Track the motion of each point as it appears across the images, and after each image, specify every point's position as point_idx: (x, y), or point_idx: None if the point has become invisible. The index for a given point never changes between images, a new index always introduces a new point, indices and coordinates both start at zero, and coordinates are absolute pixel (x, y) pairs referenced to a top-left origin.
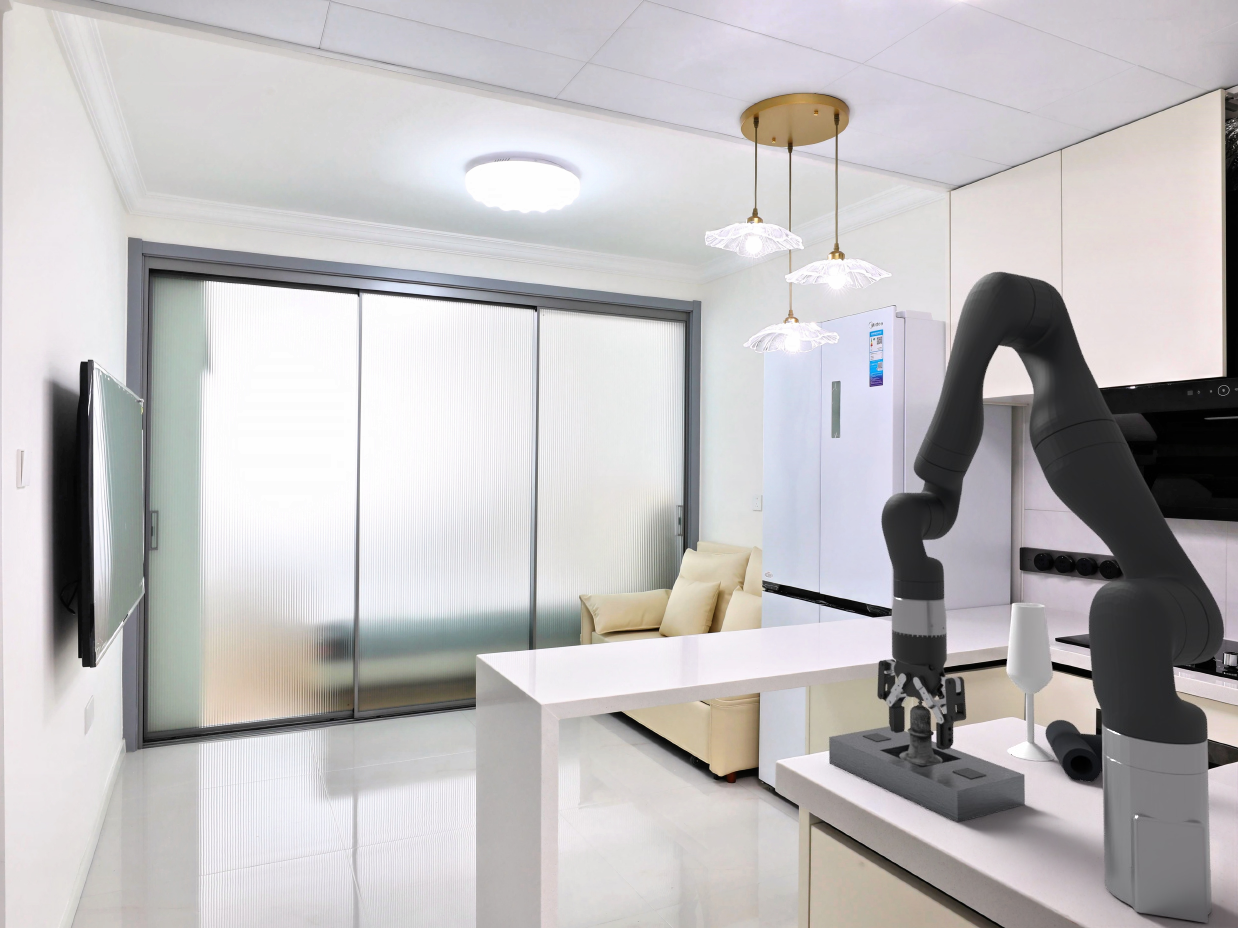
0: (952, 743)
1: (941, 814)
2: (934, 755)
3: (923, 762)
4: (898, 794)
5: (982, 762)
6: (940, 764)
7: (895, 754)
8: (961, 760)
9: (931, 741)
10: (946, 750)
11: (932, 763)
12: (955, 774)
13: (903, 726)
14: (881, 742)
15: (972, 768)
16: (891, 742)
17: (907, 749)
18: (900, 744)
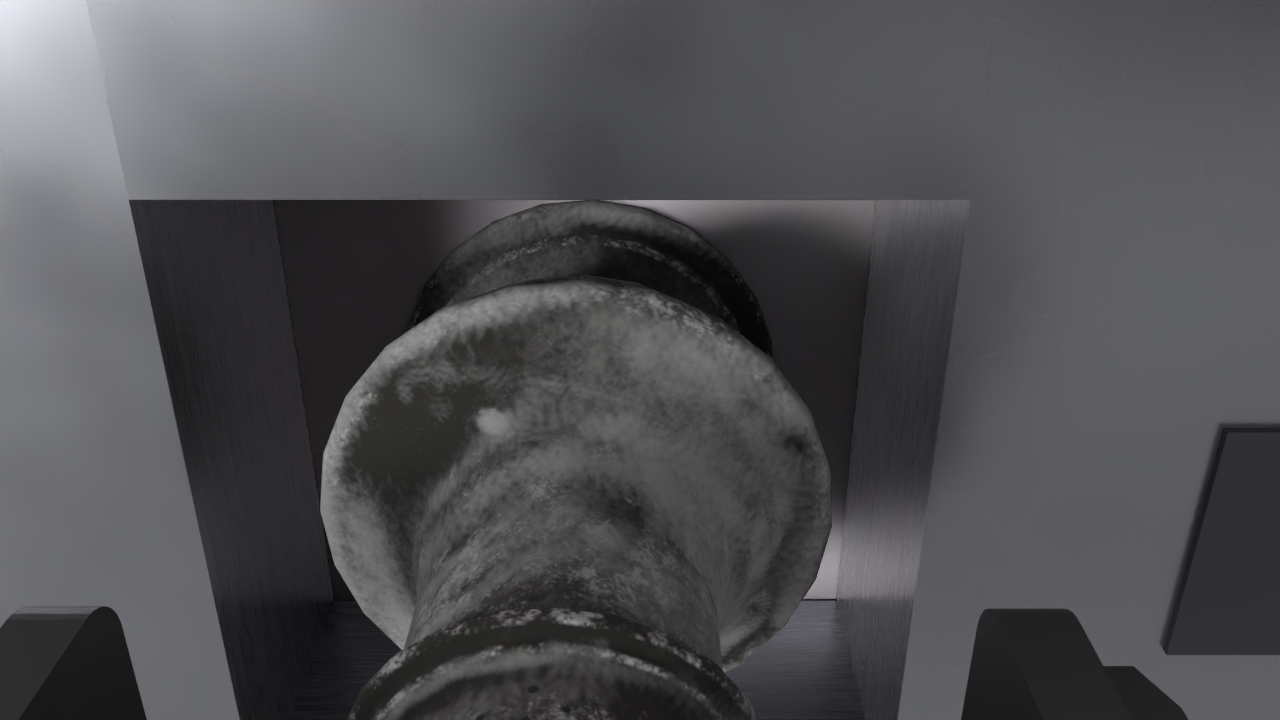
0: (1160, 699)
1: None
2: (712, 466)
3: (733, 629)
4: None
5: (1244, 52)
6: (940, 594)
7: (244, 536)
8: (1002, 260)
9: (701, 615)
10: (598, 104)
11: (797, 559)
12: (1229, 679)
13: (81, 664)
14: (4, 617)
15: (1266, 379)
16: (34, 519)
17: (197, 373)
18: (140, 477)
